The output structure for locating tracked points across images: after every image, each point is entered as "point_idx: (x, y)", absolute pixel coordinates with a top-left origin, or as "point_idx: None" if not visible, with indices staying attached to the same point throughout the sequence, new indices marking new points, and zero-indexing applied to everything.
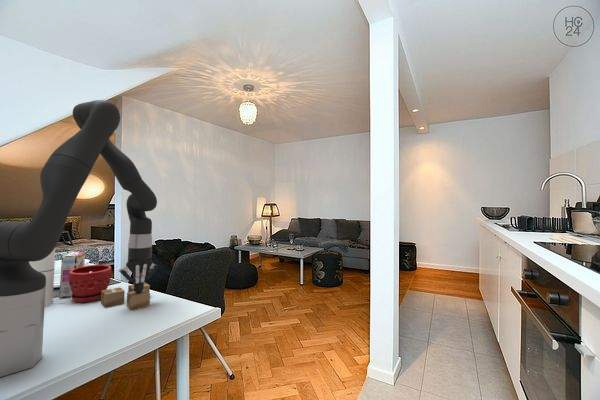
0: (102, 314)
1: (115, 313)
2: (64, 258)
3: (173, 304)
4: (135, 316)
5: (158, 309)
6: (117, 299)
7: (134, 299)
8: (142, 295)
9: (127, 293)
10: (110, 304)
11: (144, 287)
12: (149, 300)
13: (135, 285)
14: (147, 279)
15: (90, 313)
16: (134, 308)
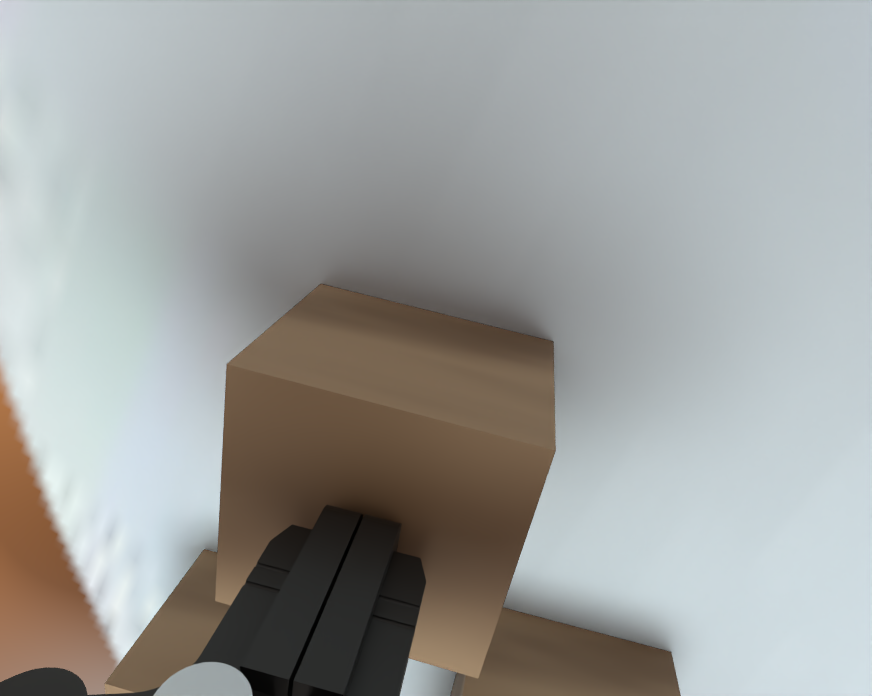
0: (822, 509)
1: (721, 414)
2: None
3: (50, 58)
4: (651, 58)
5: (286, 46)
6: (546, 681)
7: (506, 403)
8: (365, 393)
9: (484, 653)
10: (618, 660)
11: None
12: (291, 313)
13: (394, 676)
14: (67, 682)
15: (861, 636)
16: (510, 337)
